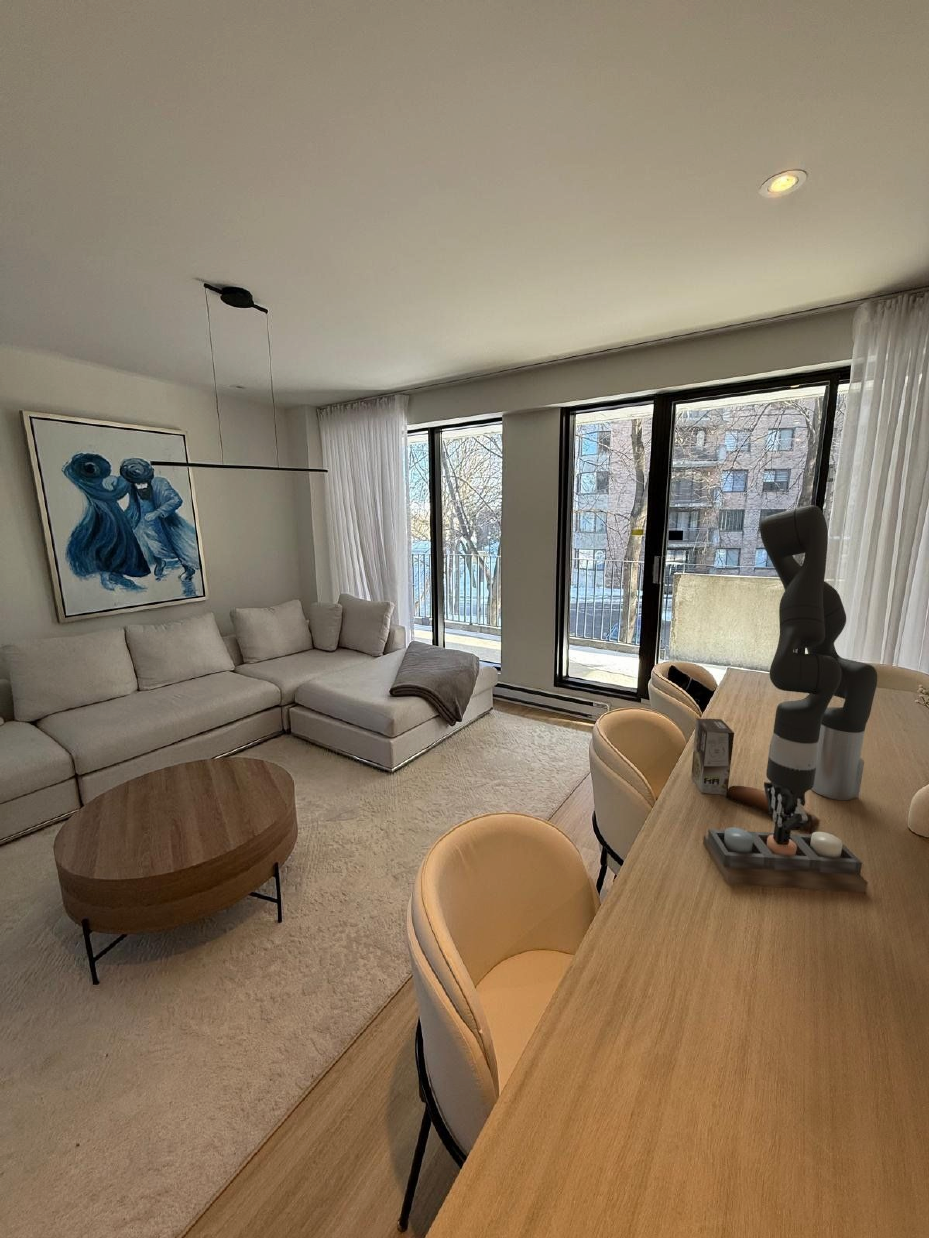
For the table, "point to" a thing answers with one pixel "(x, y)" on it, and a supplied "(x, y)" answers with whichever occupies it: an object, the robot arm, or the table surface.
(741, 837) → the slate button
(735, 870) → the gray compartment tray
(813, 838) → the cream button
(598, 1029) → the table surface
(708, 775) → the coffee box
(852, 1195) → the table surface
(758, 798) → the sunglasses case
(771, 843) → the tan rounded oval piece
